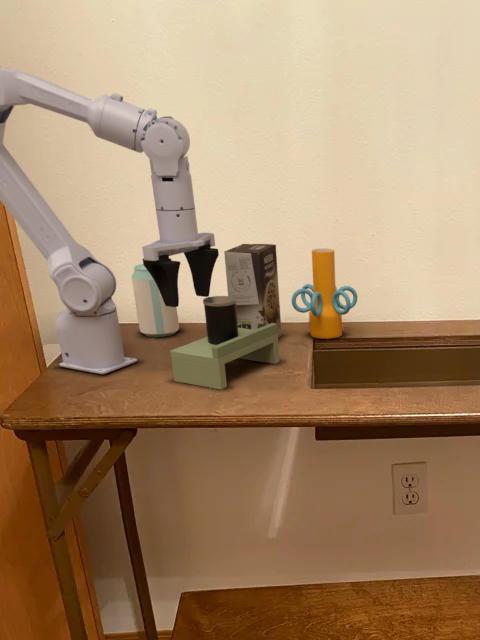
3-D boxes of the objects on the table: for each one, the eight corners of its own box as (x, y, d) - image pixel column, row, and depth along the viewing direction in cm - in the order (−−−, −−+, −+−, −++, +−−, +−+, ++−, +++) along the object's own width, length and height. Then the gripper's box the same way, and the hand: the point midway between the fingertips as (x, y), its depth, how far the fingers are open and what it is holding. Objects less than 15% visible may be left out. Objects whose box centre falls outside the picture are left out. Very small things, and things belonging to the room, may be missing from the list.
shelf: (174, 381, 124) (168, 340, 120) (235, 354, 136) (231, 317, 133) (221, 389, 120) (217, 347, 117) (279, 361, 133) (277, 323, 130)
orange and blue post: (350, 325, 154) (348, 244, 146) (365, 340, 145) (364, 253, 138) (288, 330, 150) (283, 247, 143) (299, 345, 142) (294, 257, 134)
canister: (201, 343, 125) (196, 300, 122) (220, 335, 129) (216, 294, 126) (227, 347, 123) (222, 304, 120) (246, 339, 127) (242, 297, 124)
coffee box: (266, 348, 139) (258, 252, 131) (231, 346, 140) (222, 250, 132) (283, 335, 147) (277, 243, 139) (250, 333, 148) (242, 241, 140)
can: (140, 329, 150) (130, 263, 144) (178, 327, 151) (170, 261, 146) (140, 339, 144) (129, 270, 138) (180, 336, 146) (171, 268, 140)
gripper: (164, 216, 112) (178, 313, 118) (226, 204, 123) (235, 294, 130) (125, 213, 114) (141, 308, 121) (190, 202, 126) (200, 290, 133)
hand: (187, 301), depth 126 cm, fingers open, 7 cm apart
